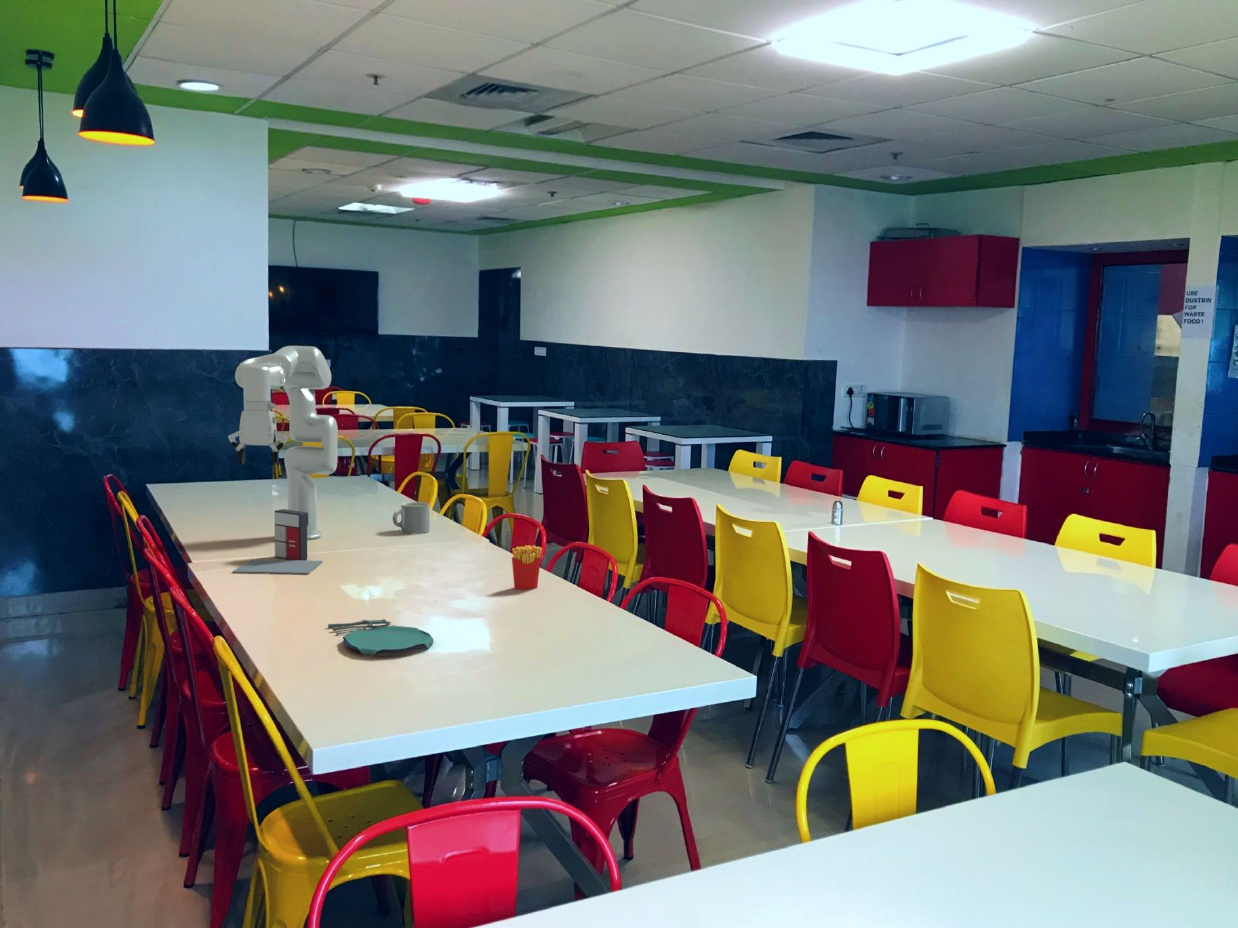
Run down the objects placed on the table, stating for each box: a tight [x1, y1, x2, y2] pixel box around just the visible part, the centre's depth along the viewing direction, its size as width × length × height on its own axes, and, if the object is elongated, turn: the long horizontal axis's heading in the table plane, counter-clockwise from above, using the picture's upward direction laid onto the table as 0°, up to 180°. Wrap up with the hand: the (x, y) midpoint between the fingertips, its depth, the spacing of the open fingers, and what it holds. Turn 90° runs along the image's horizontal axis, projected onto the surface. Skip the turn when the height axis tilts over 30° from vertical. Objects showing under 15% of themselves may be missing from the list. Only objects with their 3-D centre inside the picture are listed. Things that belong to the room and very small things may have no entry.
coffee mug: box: [392, 501, 430, 534], centre depth 364 cm, size 13×10×10 cm
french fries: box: [511, 544, 543, 591], centre depth 288 cm, size 8×4×12 cm, turn 111°
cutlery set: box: [327, 618, 435, 656], centre depth 237 cm, size 20×30×2 cm, turn 33°
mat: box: [232, 558, 323, 575], centre depth 305 cm, size 16×22×1 cm
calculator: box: [274, 508, 308, 561], centre depth 317 cm, size 11×4×15 cm, turn 62°
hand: (258, 464), depth 303 cm, fingers open, 9 cm apart
